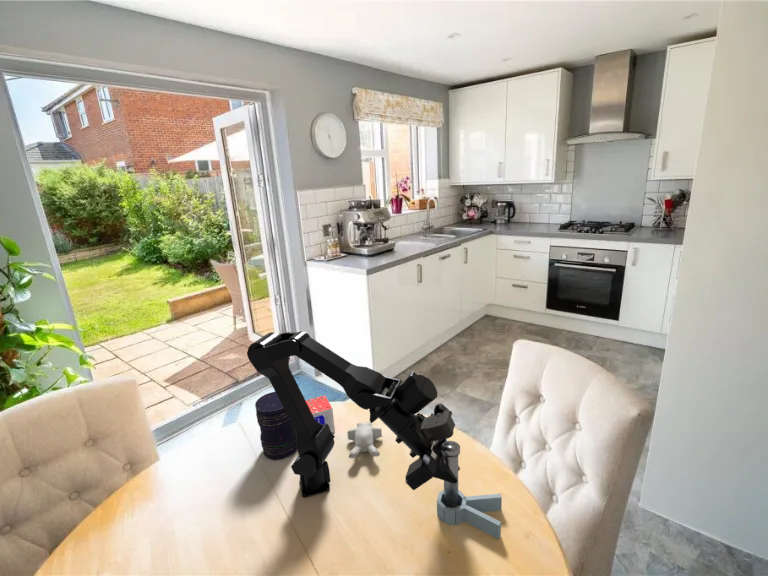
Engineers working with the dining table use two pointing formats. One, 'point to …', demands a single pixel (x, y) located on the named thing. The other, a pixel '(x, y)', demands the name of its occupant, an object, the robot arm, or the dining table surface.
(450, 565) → the dining table surface
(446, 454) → the hinge pin
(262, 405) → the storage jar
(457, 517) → the grey ring with prongs
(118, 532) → the dining table surface
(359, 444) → the grey figurine
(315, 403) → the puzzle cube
